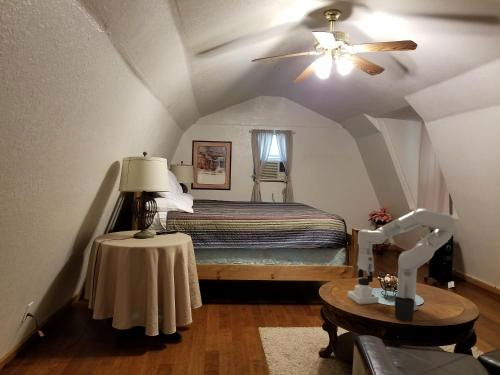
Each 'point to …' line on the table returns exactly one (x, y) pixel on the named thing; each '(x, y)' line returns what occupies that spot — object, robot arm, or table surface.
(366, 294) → the medicine bottle
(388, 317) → the table surface
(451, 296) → the table surface
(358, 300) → the tray
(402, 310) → the pen holder
